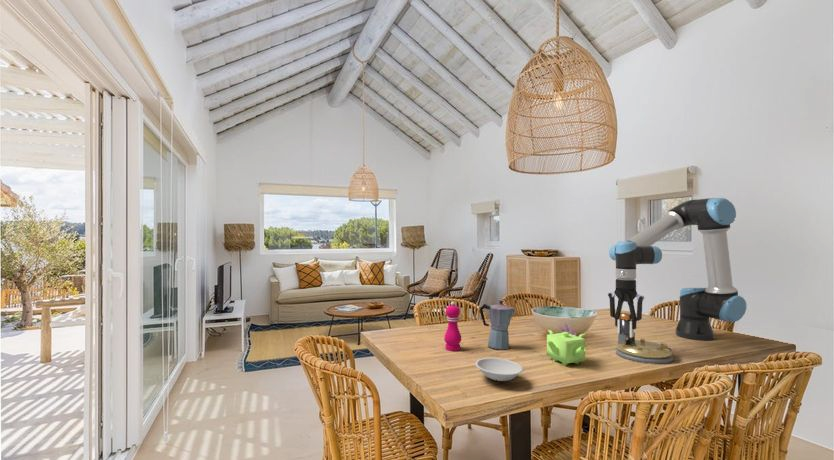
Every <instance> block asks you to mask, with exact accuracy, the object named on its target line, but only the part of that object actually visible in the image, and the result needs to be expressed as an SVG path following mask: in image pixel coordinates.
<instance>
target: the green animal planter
mask: <svg viewBox="0 0 834 460" xmlns="http://www.w3.org/2000/svg"><path fill="white" fill-rule="evenodd" d="M547 332H548V333H549V334H546V357H550V358H552V359H551V361H552V360H554V361H553V362H558V361H559V362H560V363H561V365H562V364H563V365H568V366H569V364H572V363H573V364H574V363H575V364H574V365H580V364H579V363H581V362H586V350H587V349H586V338H584V336H586V333H581V334H579V335H578V336H577V335H576V336H574V335H571V334H569V333H568V332H562V331H561V332H559V333H554V331H552V330H550V329H547ZM563 365H562V366H563Z"/></svg>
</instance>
